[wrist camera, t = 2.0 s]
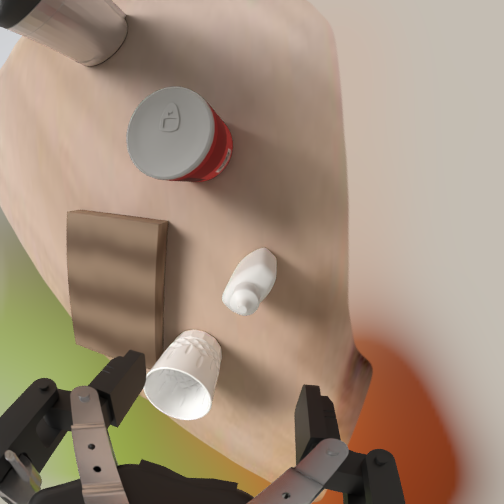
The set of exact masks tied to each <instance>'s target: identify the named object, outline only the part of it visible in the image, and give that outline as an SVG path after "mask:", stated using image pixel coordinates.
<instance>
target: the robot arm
mask: <svg viewBox="0 0 504 504" xmlns="http://www.w3.org/2000/svg"><path fill="white" fill-rule="evenodd" d="M125 16H126V14H125V13H124V12H123V11H122V10H121V9H120V8H119V7H118V6H117V5H116V4H115V3H114V2H113V1H112V0H0V27H3V28H6V29H8V30H11V31H13V32H15V33H18V34H20V35H22V36H25V37H27V38H29V39H31V40H34V41H36V42H38V43H40V44H42V45H44V46H46V47H49V48H51V49H53V50H55V51H57V52H59V53H61V54H63V55H65V56H67V57H69V58H71V59H73V60H75V61H76V62H78V63H81V64H83V65H84V66H94V65H97V64H100V63H102V62H104V61H105V60H106V59H108V58H109V57H110V56H112V55H113V54H114V53H115V52H116V51H117V50H118V48H119V47H120V46H121V44H122V43H123V41H124V39H125V37H126V34H127V29H128V27H127V23H126V21H125ZM145 383H146V363H145V354H144V353H141V352H137V351H134V350H129V351H128V352H127V353H126V354H125V356H124V357H122V356H118V357H116V358H114V359H112V360H111V361H110V362H109V363H108V364H107V366H105V367H104V369H103V370H102V371H101V372H100V373H99V374H98V375H97V376H96V377H95V379H94V380H93V381H92V382H91V383H90V384H89V385H88V386H79V387H76V388H74V389H73V390H72V391H66V390H61V389H57V387H56V384H55V382H54V381H53V380H51V379H48V378H41V379H38V380H36V381H34V382H33V383H32V384H31V385H30V386H29V387H28V388H27V389H26V390H25V391H24V393H23V394H22V395H21V396H20V397H19V398H18V399H17V400H16V401H15V402H14V403H13V404H12V405H11V406H10V407H9V408H8V409H7V410H6V412H5V413H4V414H3V415H2V416H1V417H0V497H1V498H2V499H3V500H4V501H5V502H7V503H8V504H311V503H312V502H313V501H314V500H315V499H316V498H317V496H318V495H319V494H320V493H321V492H322V491H323V490H324V489H330V490H333V491H338V492H342V493H343V503H344V504H405V500H404V495H403V491H402V487H401V482H400V478H399V474H398V470H397V466H396V463H395V459H394V457H393V455H392V454H391V453H390V452H388V451H386V450H383V449H375V450H372V451H370V452H369V453H368V454H367V455H366V454H361V453H356V452H353V451H350V450H349V449H348V447H347V445H346V444H345V443H344V442H342V441H341V439H340V434H339V429H338V424H337V419H336V415H335V412H334V411H335V410H334V405H333V403H332V401H331V400H330V399H329V397H328V396H321V394H320V388H319V386H315V385H303V387H302V390H301V393H300V396H299V399H298V402H297V405H296V409H295V442H296V466H295V467H294V468H293V467H291V468H289V469H288V470H287V471H286V472H284V473H283V474H282V475H281V476H280V477H279V478H278V479H276V480H275V481H274V482H273V483H272V484H271V485H269V486H268V487H267V488H266V489H264V490H263V491H262V492H261V493H260V494H258V495H257V496H256V497H253V496H251V495H250V494H248V493H246V492H244V491H242V490H239V489H237V484H238V483H235V482H229V481H223V480H218V479H204V478H186V477H184V476H182V475H180V474H178V473H176V472H174V471H172V470H170V469H168V468H166V467H164V466H161V465H158V464H155V463H151V462H148V461H145V460H141V462H140V464H139V465H138V464H124V465H119V466H118V463H117V461H116V457H115V454H114V451H113V448H112V444H111V441H110V437H109V433H108V430H107V429H108V427H109V426H110V425H113V426H115V427H118V426H119V425H120V423H121V422H122V420H123V418H124V417H125V415H126V414H127V412H128V411H129V409H130V407H131V406H132V404H133V403H134V401H135V400H136V398H137V397H138V395H139V394H140V392H141V391H142V389H143V387H144V386H145ZM67 431H72V437H73V444H74V450H75V456H76V461H77V465H78V471H79V475H80V479H77V480H75V481H71V482H68V483H65V484H61V485H57V486H54V487H49V488H45V489H42V490H41V488H40V486H41V483H42V479H41V476H40V474H39V473H40V472H41V470H42V469H43V467H44V466H45V464H46V463H47V461H48V460H49V458H50V457H51V455H52V453H53V452H54V451H55V449H56V448H57V446H58V445H59V443H60V442H61V440H62V439H63V437H64V436H65V434H66V433H67Z"/></svg>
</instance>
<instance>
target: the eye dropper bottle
mask: <svg viewBox="0 0 504 504" xmlns="http://www.w3.org/2000/svg"><path fill="white" fill-rule="evenodd" d="M276 269H277V259H276V257H275V256H274V255H273V254H272V253H271V252H270V251H269V250H268V249H267V248H260V249H257V250H255V251H253V252H251V253H250V254H248V255H247V256H246V257H244V258H243V259H242V260H241V261H240V263H239V264H238V265H237V267H236V268H235V270H234V272H233V274H232V276H231V278H230V280H229V282H228V284H227V286H226V288H225V290H224V293H223V296H222V301H223V302H224V304H225V305H226V306H227V307H228V308H229V309H230V310H231V311H233V312H235V313H237V314H239V315H242V316H244V315H245V316H247V315H251V314H253V313H254V312H255V311H256V310H257V309H258V307H259V303H260V302H261V301H263V300H264V298H265V297H266V296H267V295H268V294H269V292H270V291H271V289H272V287H273V285H274V283H275V280H276Z"/></svg>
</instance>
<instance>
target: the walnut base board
mask: <svg viewBox="0 0 504 504" xmlns="http://www.w3.org/2000/svg"><path fill="white" fill-rule="evenodd" d="M167 231H168V221H164V220H156V219H149V218H142V217H134V216H126V215H119V214H111V213H103V212H95V211H87V210H75V211H70V212H67V268H68V284H69V295H70V305H71V313H72V321H73V328H74V334H75V340H76V344H78V345H80V346H83V347H85V348H88V349H90V350H93V351H96V352H98V353H101V354H104V355H107V356H110V357H112V358H116V357H118V356H122V357H124V356H125V354H126V353H127V352H128V351H129V350H134V351H137V352H141V353H144V354H145V363H146V368H147V369H150V370H151V368H152V367H153V366H154V364H155V363H156V362H157V361H158V359H159V358H160V357H161V355H162V354H163V305H164V277H165V258H166V244H167Z"/></svg>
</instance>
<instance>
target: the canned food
mask: <svg viewBox="0 0 504 504" xmlns="http://www.w3.org/2000/svg"><path fill="white" fill-rule="evenodd" d="M127 149H128V152H129V155H130V158H131V160H132V161H133V163H134V165H135V166H136V167H137V168H138V169H139V170H140V171H141V172H143V173H144V174H146V175H147V176H150V177H153V178H156V179H160V180H169V181H189V182H203V181H207V180H210V179H212V178H214V177H216V176H217V175H218V174H220V173H221V172H222V171H223V170H224V168H225V167H226V166H227V164H228V162H229V160H230V158H231V155H232V149H233V141H232V137H231V133H230V131H229V129H228V128H227V126H226V125H225V124H224V122H223V121H222V120H221V119H220V117H219V116H218V115H217V114H216V112H215V111H214V110H213V109H212V107H211V106H210V105H209V104H208V103H207V102H206V101H205V99H204V98H202V97H201V96H200V95H199V94H197V93H196V92H194V91H192V90H190V89H188V88H184V87H167V88H163V89H160V90H158V91H155V92H154V93H152V94H151V95H149V96H148V97H146V98H145V99H144V100H143V101H142V102H141V103H140V104H139V106H138V107H137V108H136V110H135V111H134V113H133V115H132V117H131V119H130V122H129V125H128V129H127Z"/></svg>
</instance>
